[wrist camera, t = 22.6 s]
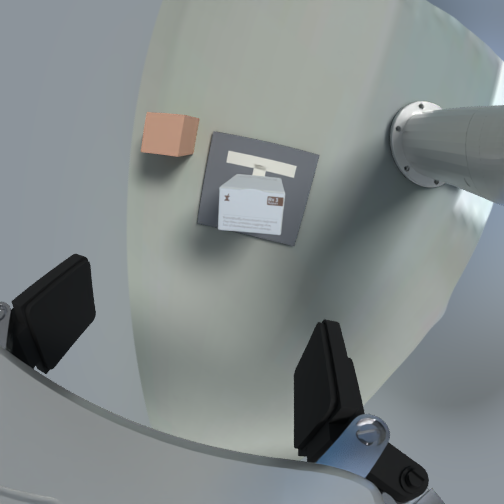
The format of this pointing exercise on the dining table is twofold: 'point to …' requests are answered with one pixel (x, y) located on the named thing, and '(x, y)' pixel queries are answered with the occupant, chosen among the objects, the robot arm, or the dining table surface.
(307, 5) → the dining table surface
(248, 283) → the dining table surface
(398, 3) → the dining table surface
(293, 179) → the letter mat
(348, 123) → the dining table surface
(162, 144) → the block
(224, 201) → the skincare box
